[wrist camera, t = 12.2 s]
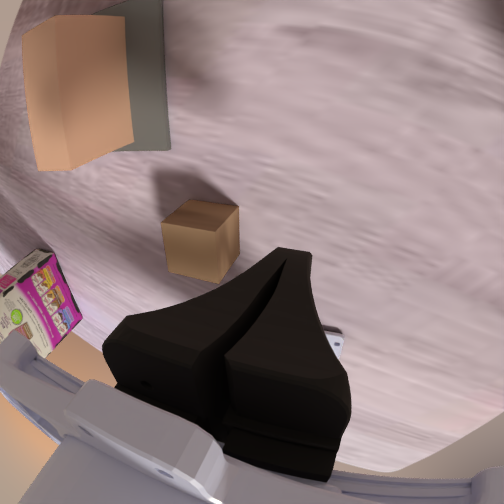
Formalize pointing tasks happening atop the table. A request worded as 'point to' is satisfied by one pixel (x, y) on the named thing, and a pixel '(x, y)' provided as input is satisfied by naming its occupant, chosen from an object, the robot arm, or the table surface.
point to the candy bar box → (37, 302)
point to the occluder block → (76, 89)
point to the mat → (145, 73)
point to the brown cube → (202, 239)
